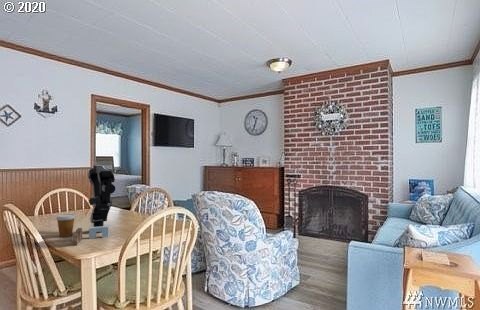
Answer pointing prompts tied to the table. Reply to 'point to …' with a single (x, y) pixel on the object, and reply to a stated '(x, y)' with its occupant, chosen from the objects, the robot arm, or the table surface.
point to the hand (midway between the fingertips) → (104, 218)
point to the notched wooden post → (77, 236)
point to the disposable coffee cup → (65, 224)
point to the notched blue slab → (98, 229)
